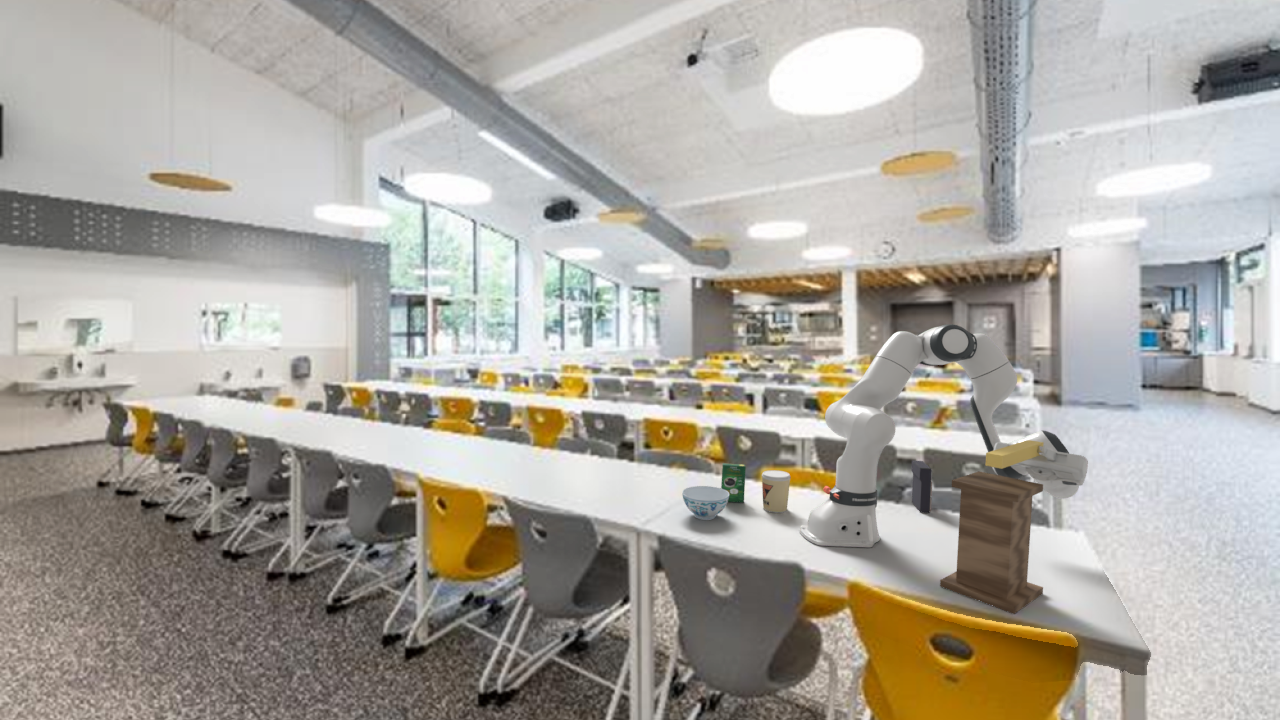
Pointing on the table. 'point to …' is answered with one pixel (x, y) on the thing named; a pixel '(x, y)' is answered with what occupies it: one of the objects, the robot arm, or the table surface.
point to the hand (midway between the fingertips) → (1029, 447)
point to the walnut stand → (994, 541)
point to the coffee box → (734, 481)
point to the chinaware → (705, 501)
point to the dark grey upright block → (921, 486)
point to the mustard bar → (1012, 454)
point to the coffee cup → (775, 490)
